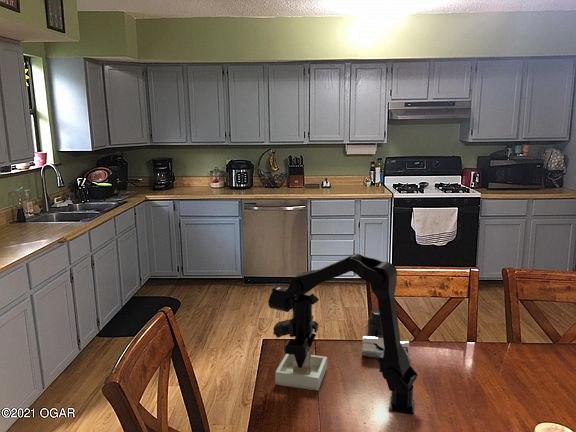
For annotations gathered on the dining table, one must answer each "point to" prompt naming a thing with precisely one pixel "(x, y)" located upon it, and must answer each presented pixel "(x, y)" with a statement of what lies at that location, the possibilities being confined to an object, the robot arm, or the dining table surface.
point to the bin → (297, 380)
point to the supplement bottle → (374, 324)
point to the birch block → (306, 365)
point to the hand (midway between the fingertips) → (302, 362)
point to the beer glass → (378, 346)
